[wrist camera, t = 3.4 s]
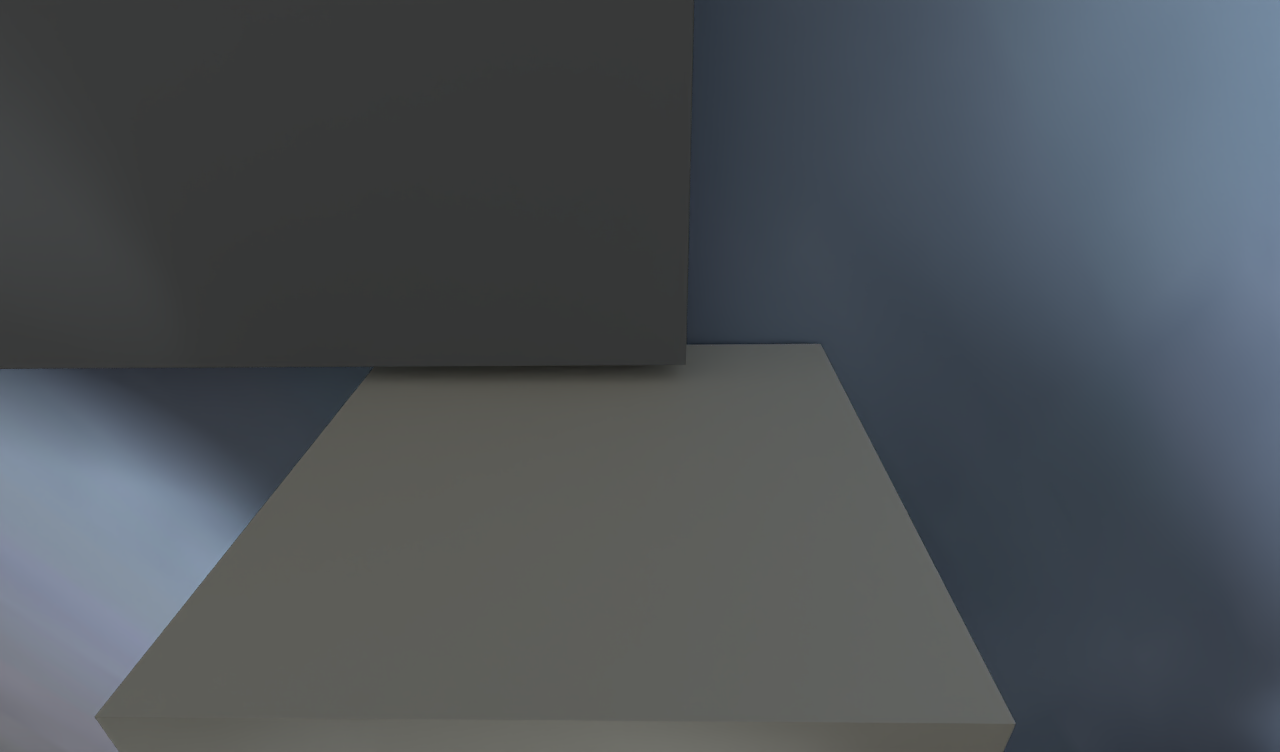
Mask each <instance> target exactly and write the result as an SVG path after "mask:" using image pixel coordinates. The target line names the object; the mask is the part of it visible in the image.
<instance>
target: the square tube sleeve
mask: <svg viewBox="0 0 1280 752" xmlns="http://www.w3.org/2000/svg"><path fill="white" fill-rule="evenodd" d="M95 718H96V720H97V721H98V722H99V724H100V725H101V727H102V728H103V730H104V731H105V732H106V734H107V735H108V737H109V738H110V739H111V741H112V742H113V744H114V745H115V747H116V748H117V749H118V751H119V752H1004V749H1005V747H1006V745H1007V743H1008V740H1009V738H1010V736H1011V734H1012V731H1013V729H1014V727H1015V725H1016V723H1015V721H1014V719H1013V717H1012V715H1011V713H1010V711H1009V709H1008V707H1007V705H1006V703H1005V701H1004V700H1003V698H1002V696H1001V694H1000V692H999V690H998V688H997V686H996V684H995V682H994V680H993V678H992V676H991V674H990V672H989V670H988V668H987V666H986V665H985V663H984V661H983V659H982V657H981V655H980V653H979V651H978V649H977V647H976V645H975V643H974V641H973V639H972V637H971V635H970V633H969V631H968V630H967V628H966V626H965V624H964V622H963V620H962V618H961V616H960V614H959V612H958V610H957V608H956V606H955V604H954V602H953V600H952V598H951V597H950V595H949V593H948V591H947V589H946V587H945V585H944V583H943V581H942V579H941V577H940V575H939V573H938V571H937V569H936V567H935V565H934V563H933V562H932V560H931V558H930V556H929V554H928V552H927V550H926V548H925V546H924V544H923V542H922V540H921V538H920V536H919V534H918V532H917V530H916V528H915V527H914V525H913V523H912V521H911V519H910V517H909V515H908V513H907V511H906V509H905V507H904V505H903V503H902V501H901V499H900V497H899V495H898V493H897V492H896V490H895V488H894V486H893V484H892V482H891V480H890V478H889V476H888V474H887V472H886V470H885V468H884V466H883V464H882V462H881V460H880V458H879V457H878V455H877V453H876V451H875V449H874V447H873V445H872V443H871V441H870V439H869V437H868V435H867V433H866V431H865V429H864V427H863V425H862V423H861V422H860V420H859V418H858V416H857V414H856V412H855V410H854V408H853V406H852V404H851V402H850V400H849V398H848V396H847V394H846V392H845V390H844V388H843V387H842V385H841V383H840V381H839V379H838V377H837V375H836V373H835V371H834V369H833V367H832V365H831V363H830V361H829V359H828V357H827V355H826V353H825V352H824V350H823V348H822V346H821V344H696V345H686V365H574V366H395V367H374V368H373V369H372V370H371V371H370V373H369V374H368V375H367V376H366V378H365V379H364V380H363V381H362V383H361V384H360V385H359V386H358V388H357V389H356V390H355V391H354V393H353V394H352V395H351V396H350V398H349V399H348V400H347V401H346V403H345V404H344V405H343V406H342V408H341V409H340V410H339V411H338V413H337V414H336V415H335V416H334V418H333V419H332V420H331V421H330V423H329V424H328V425H327V426H326V428H325V429H324V430H323V431H322V433H321V434H320V435H319V436H318V438H317V439H316V440H315V441H314V443H313V444H312V445H311V446H310V448H309V449H308V450H307V451H306V453H305V454H304V455H303V456H302V458H301V459H300V460H299V461H298V463H297V464H296V465H295V467H294V468H293V469H292V470H291V472H290V473H289V474H288V475H287V477H286V478H285V479H284V480H283V482H282V483H281V484H280V485H279V487H278V488H277V489H276V490H275V492H274V493H273V494H272V495H271V497H270V498H269V499H268V500H267V502H266V503H265V504H264V505H263V507H262V508H261V509H260V510H259V512H258V513H257V514H256V515H255V517H254V518H253V519H252V520H251V522H250V523H249V524H248V525H247V527H246V528H245V529H244V530H243V532H242V533H241V534H240V535H239V537H238V538H237V539H236V540H235V542H234V543H233V544H232V545H231V547H230V548H229V549H228V550H227V552H226V553H225V554H224V555H223V557H222V558H221V559H220V560H219V562H218V563H217V564H216V565H215V567H214V568H213V569H212V570H211V572H210V573H209V574H208V575H207V577H206V578H205V579H204V580H203V582H202V583H201V584H200V585H199V587H198V588H197V589H196V590H195V592H194V593H193V594H192V595H191V597H190V598H189V599H188V601H187V602H186V603H185V604H184V606H183V607H182V608H181V609H180V611H179V612H178V613H177V614H176V616H175V617H174V618H173V619H172V621H171V622H170V623H169V624H168V626H167V627H166V628H165V629H164V631H163V632H162V633H161V634H160V636H159V637H158V638H157V639H156V641H155V642H154V643H153V644H152V646H151V647H150V648H149V649H148V651H147V652H146V653H145V654H144V656H143V657H142V658H141V659H140V661H139V662H138V663H137V664H136V666H135V667H134V668H133V669H132V671H131V672H130V673H129V674H128V676H127V677H126V678H125V679H124V681H123V682H122V683H121V684H120V686H119V687H118V688H117V689H116V691H115V692H114V693H113V694H112V696H111V697H110V698H109V699H108V701H107V702H106V703H105V704H104V706H103V707H102V708H101V709H100V711H99V712H98V713H97V714H96V716H95Z"/></svg>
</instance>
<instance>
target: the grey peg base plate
mask: <svg viewBox="0 0 1280 752" xmlns="http://www.w3.org/2000/svg"><path fill="white" fill-rule="evenodd" d="M693 26H694V0H0V369H37V368H216V367H395V366H574V365H686V343H687V298H688V253H689V207H690V162H691V117H692V71H693Z"/></svg>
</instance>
